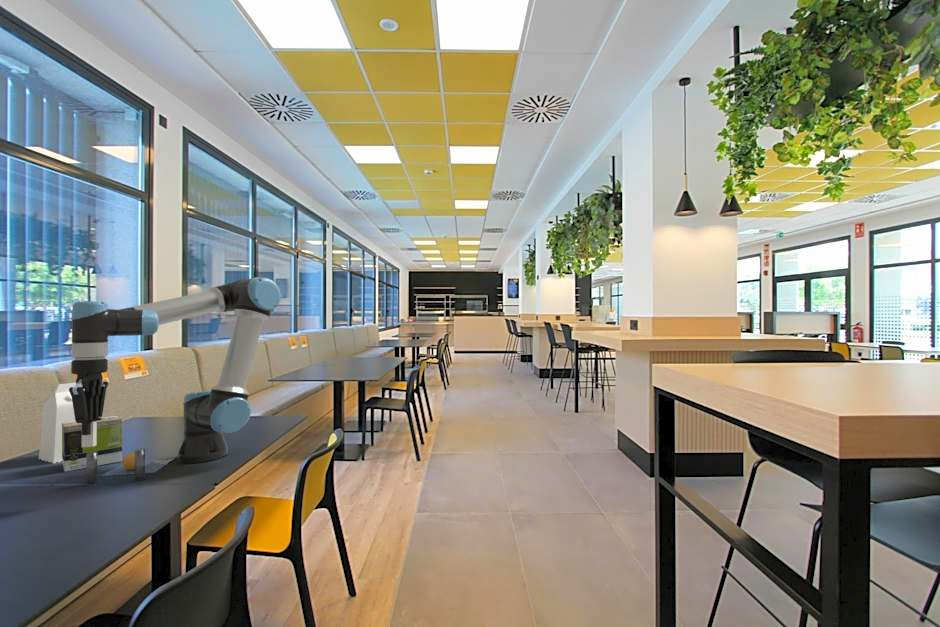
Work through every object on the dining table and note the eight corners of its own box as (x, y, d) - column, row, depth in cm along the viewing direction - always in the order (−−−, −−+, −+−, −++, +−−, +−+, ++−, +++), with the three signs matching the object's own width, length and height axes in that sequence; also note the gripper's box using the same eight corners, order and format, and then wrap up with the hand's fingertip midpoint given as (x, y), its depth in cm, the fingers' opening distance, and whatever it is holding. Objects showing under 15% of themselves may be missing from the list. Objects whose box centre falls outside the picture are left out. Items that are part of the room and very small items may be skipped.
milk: (80, 450, 169) (81, 380, 169) (96, 454, 163) (96, 382, 164) (38, 459, 158) (39, 384, 159) (53, 463, 153) (54, 386, 153)
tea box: (118, 456, 161) (118, 414, 161) (122, 462, 154) (122, 418, 154) (61, 465, 150) (61, 421, 151) (63, 472, 143) (63, 425, 143)
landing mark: (175, 458, 157) (175, 458, 157) (154, 472, 142) (154, 472, 142) (126, 462, 154) (126, 461, 154) (100, 476, 139) (100, 475, 139)
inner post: (146, 478, 137) (146, 448, 137) (142, 481, 134) (142, 450, 134) (137, 479, 136) (137, 449, 136) (132, 481, 134) (133, 451, 134)
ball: (137, 458, 142) (140, 473, 144) (144, 448, 147) (147, 462, 149) (117, 460, 141) (120, 475, 143) (125, 449, 146) (128, 464, 148)
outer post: (99, 481, 134) (99, 451, 134) (94, 484, 132) (94, 453, 132) (89, 482, 134) (89, 451, 134) (84, 485, 131) (84, 454, 131)
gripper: (88, 357, 128) (88, 441, 127) (56, 360, 115) (55, 454, 114) (119, 356, 129) (118, 439, 129) (90, 360, 116) (90, 452, 116)
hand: (89, 446), depth 122 cm, fingers closed
